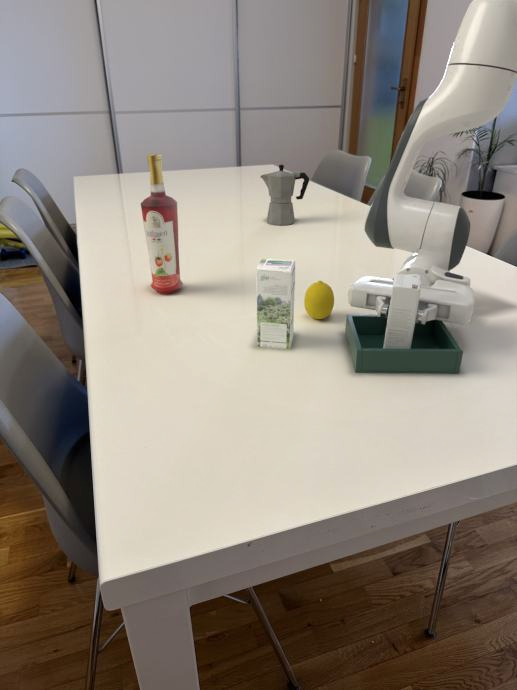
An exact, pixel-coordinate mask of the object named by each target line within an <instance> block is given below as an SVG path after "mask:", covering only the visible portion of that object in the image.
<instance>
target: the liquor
mask: <svg viewBox="0 0 517 690" xmlns="http://www.w3.org/2000/svg"><path fill="white" fill-rule="evenodd" d="M162 157H163V156H162V154H157V153H155V154H153V153H151V154H147V164H148V168H149V172H150V175H149V177H150V196H148V197H146V198H144V199H143V200H142V201H141V202H140V208H141V215H142V223H143V228H144V234H145V239H146V246H147V251H148V252H147V253H148V258H149V259H148V260H149V265H150V273H151V281H152V282H151V284H150V287H151V288H152V289H153V290H154V291H155V292H157V293H158V294H162V295H169V294H174V293H176V292H178V290H179V289H180V288H181V287H182V286H183V284H184V283H183V281H182V280H181V268H180V250H179V249H180V247H179V215H178V212H179V211H178V201H177V200H176V199H174V198H173V197H171V196H170V195H167V194H166V188H165V183H164V176H163V161H162V160H163V158H162Z"/></svg>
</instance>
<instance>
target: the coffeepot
mask: <svg viewBox="0 0 517 690" xmlns="http://www.w3.org/2000/svg"><path fill="white" fill-rule="evenodd" d="M284 167H285V165H284V164H279V165H278V170H277V171H274V172H268V173H264V174H260V179H262V180H263V182H264V184H265V186H266V188H267V190H268V197H270V202H269V203H268V211H267V216H266V223H267V224H268V225H271V226H292V225H293V224H294V223H295V222H296V218H295V212H294V204H293V202H292V197H293V196H294V192H295V185H296V180H303V181H302V187H301V189H300V192H299V193H300V194H299V195H298V196H295V198H296V200H303V198H304V196H305V193H306V190H307V189H308V185H309V183H310V177H309V176H308V175H307V173H306V172H289V171H285V170H284Z"/></svg>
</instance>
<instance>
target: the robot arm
mask: <svg viewBox="0 0 517 690" xmlns="http://www.w3.org/2000/svg"><path fill="white" fill-rule="evenodd" d="M516 81H517V0H472V1H471V2H470V3H469V5H468V7H467V9H466V12H465V13H464V16H463V18H462V20H461V23H460V25H459V28H458V30H457V34H456V35H455V39H454V41H453V44H452V47H451V50H450V54H449V57H448V61H447V64H446V69H445V71H444V75H443V77H442V79H441V81H440V82H439V84H438V86H437V88H436V89H435V90H434V92H432V94H431V95H430V96H428V97H426V98H423V99H421V100H420V101H419V102H418V103H417V105H416V106H415V108H414V109H413V111H412V113H411V115H410V117H409V119H408V121H407V123H406V125H405V127H404V130H403V132H402V134H401V137H400V139H399V141H398V144H397V146H396V149H395V151H394V153H393V157H392V158H391V161H390V163H389V166H388V168H387V170H386V172H385V175H384V177H383V180H382V182H381V184H380V187H379V189H378V192H377V194H376V195H375V198H374V200H373V202H372V203H371V205H370V207H369V208H368V211H367V213H366V215H365V222H364V233H365V234H366V236H367V238H368V239H369V241H370V242H371V243H372V244H373V245H374V246H375V247H377V248H383V249H389V250H394V249H396V250H400V251H404V252H407V253H408V252H409V253H411V254H410V255H409V256H408V257H407V258H406V259H405V261H404V262H403V264H402V266H401V267H400V268H399V269H398V271H397V272H396V273H395V274H403V275H417V276H421V291H420V297H419V303H418V309H417V315H416V321H415V323H418V324H424V325H425V323H426V321H430V320H439V321H442V322H445V323H451V324H459V325H468V324H471V322H472V319H473V314H474V309H475V302H476V297H475V292H474V290H473V288H472V287H471V279H470V277H468V276H463V275H460V274H457V273H453V272H451V271H452V270H454V269H455V268H456V267H457V266H458V265H460V263H461V260H462V258H463V256H464V253H465V250H466V247H467V244H468V242H469V237H470V232H471V220H470V218H469V216H468V213H467V211H466V210H465V208H463V206H459V205H455V204H450V203H446V202H440V201H432V200H427V199H422V198H417V197H413V196H408V195H406V194H405V188H406V187H407V185H408V182H409V180H410V177H411V175H412V173H413V171H414V168H415V166H416V164H417V161H418V159H419V156H420V155H421V152H422V151H423V149H424V148H425V147H426V146H427V145H428V144H429V143H431V142H432V141H434V140H436V139H438V138H441V137H445V136H448V135H452V134H453V135H454V134H457V133H462V132H467V131H470V130H473V129H477V128H479V127H482V126H484V125H487V124H488V123H490V122H491V121H493V120H494V119H496V118H497V117H498V116H499V115H500V114H501V113H502V112H503V110H505V108H506V106H507V104H508V102H509V99H510V98H511V95H512V93H513V90H514V88H515V84H516ZM393 281H394V277H393V278H385V277H384V278H383V277H378V276H377V277H376V276H364V277H360V278H359V279H357V280H355V281H354V282H353V283H351V284H350V286H349V288H348V298H347V303H348V304H349V305H350V306H351V307H353V308H358V309H365V310H372V311H376V312H377V313H376V315H377V317H382V318H387V316H388V312H389V306H390V301H391V295H392V289H393Z"/></svg>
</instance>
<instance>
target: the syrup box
mask: <svg viewBox="0 0 517 690" xmlns="http://www.w3.org/2000/svg"><path fill="white" fill-rule="evenodd" d="M255 279H256V280H255V281H256V282H255V284H256V285H255V286H256V346H257V347H259V348H271V349H272V348H273V349H282V350H283V349H285V350H287V349H288V350H290V349H291V347H292V344H293V339H294V336H295V335H294V319H295V318H294V317H295V316H294V315H295V314H294V313H295V288H296V287H295V286H296V285H295V284H296V260H295V259H274V258H261V260H260V261H259V262H258V264H257V266H256V270H255Z"/></svg>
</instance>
